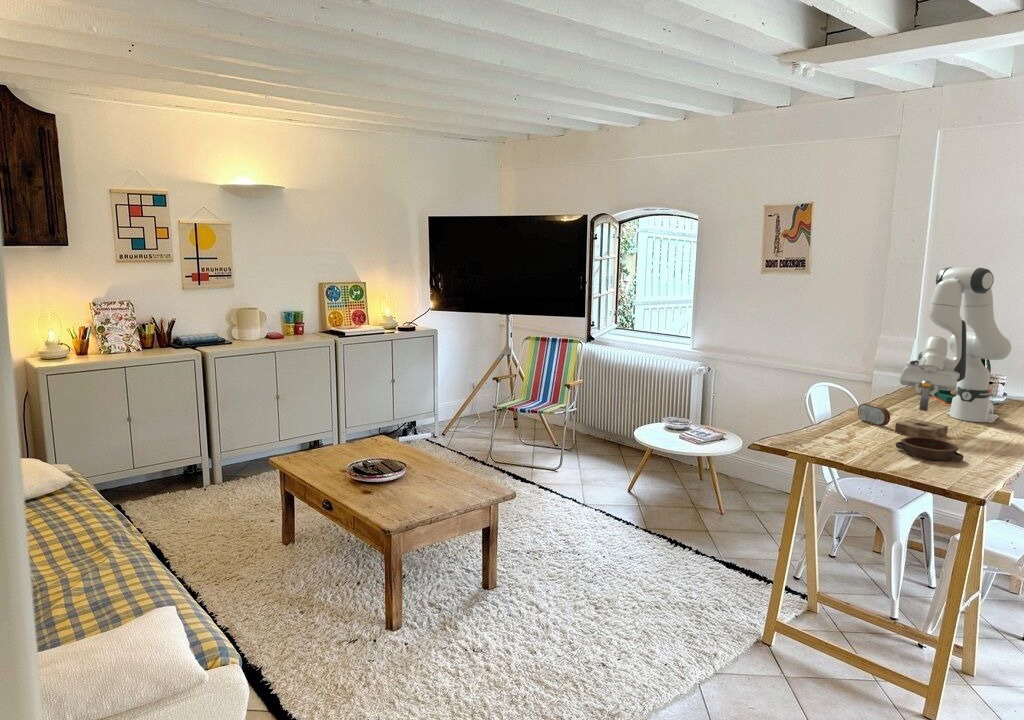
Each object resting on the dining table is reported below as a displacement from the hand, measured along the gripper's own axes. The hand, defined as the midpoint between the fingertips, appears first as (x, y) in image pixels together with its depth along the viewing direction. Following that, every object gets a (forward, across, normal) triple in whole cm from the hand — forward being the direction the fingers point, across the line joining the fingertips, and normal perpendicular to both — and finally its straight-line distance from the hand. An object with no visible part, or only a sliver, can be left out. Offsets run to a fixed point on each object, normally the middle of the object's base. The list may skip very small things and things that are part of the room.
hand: (924, 395), depth 282 cm
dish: (+34, -7, +10) cm, 36 cm away
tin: (+7, +19, -17) cm, 26 cm away
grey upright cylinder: (+4, 0, -5) cm, 6 cm away
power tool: (-42, -4, -66) cm, 78 cm away
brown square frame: (+11, 0, -13) cm, 17 cm away
